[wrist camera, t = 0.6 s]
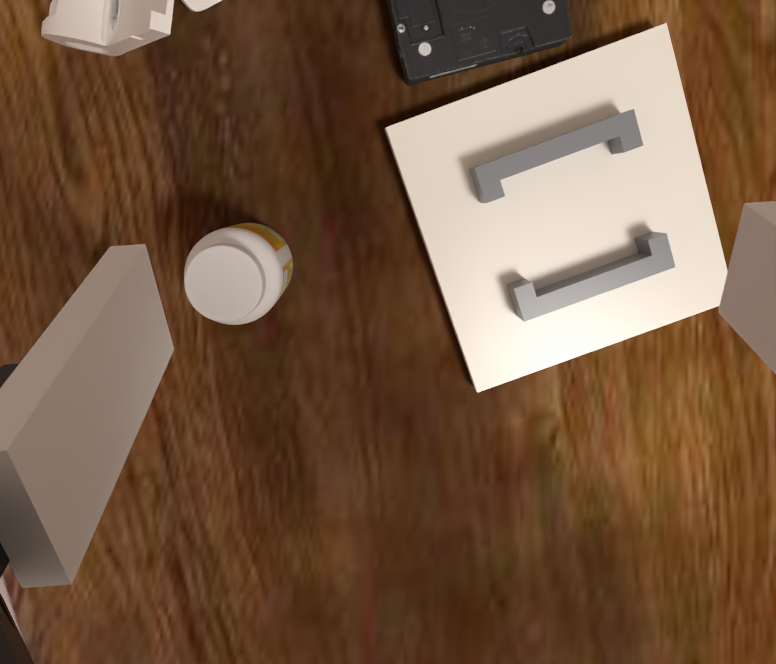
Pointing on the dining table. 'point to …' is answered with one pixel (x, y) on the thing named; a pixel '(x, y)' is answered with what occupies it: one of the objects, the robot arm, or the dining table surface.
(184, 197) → the dining table surface
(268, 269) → the supplement bottle
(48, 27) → the plastic part
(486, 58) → the disk drive
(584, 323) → the bottle holder
